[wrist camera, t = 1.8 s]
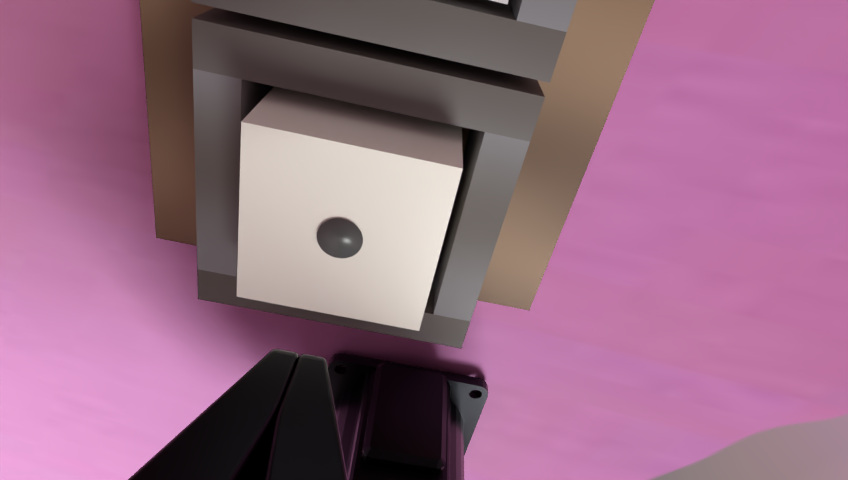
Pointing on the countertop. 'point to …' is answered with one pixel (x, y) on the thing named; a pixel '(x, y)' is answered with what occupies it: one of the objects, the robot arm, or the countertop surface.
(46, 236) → the countertop surface
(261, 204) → the tile one
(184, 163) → the panel
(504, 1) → the tile three
